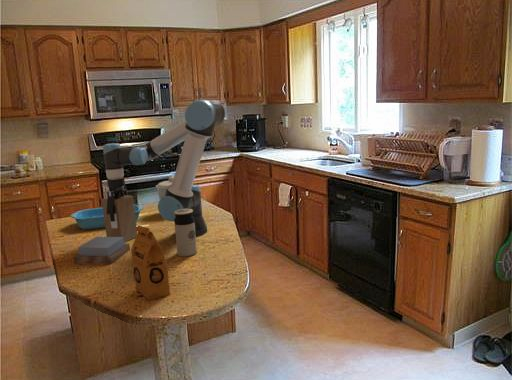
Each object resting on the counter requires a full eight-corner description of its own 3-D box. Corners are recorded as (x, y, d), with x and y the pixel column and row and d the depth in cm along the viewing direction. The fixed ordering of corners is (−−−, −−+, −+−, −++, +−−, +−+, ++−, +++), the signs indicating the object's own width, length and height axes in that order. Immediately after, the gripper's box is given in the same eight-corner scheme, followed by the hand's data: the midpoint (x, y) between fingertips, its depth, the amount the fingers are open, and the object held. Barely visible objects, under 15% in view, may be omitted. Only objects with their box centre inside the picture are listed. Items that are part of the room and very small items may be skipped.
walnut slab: (130, 251, 181) (129, 243, 180) (112, 265, 166) (110, 257, 165) (95, 251, 184) (94, 243, 183) (74, 265, 168) (73, 257, 168)
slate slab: (125, 244, 179) (124, 237, 178) (108, 256, 166) (107, 247, 166) (97, 244, 181) (96, 236, 181) (79, 255, 169) (78, 247, 168)
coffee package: (144, 304, 130) (136, 236, 126) (132, 290, 141) (124, 227, 136) (174, 294, 135) (167, 229, 131) (161, 282, 146) (154, 221, 141)
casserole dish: (143, 213, 242) (141, 201, 240) (146, 223, 221) (145, 210, 220) (74, 222, 230) (72, 210, 229) (70, 234, 210) (68, 220, 208)
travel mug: (173, 253, 173) (169, 211, 170) (190, 248, 178) (186, 207, 175) (183, 258, 167) (179, 214, 164) (200, 253, 172) (197, 210, 169)
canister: (181, 207, 252) (177, 172, 247) (197, 212, 238) (194, 175, 233) (153, 213, 240) (149, 177, 236) (168, 219, 227) (164, 180, 222)
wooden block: (123, 234, 203) (118, 194, 199) (138, 236, 198) (133, 195, 194) (106, 240, 195) (101, 199, 191) (122, 243, 190) (116, 200, 186)
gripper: (120, 173, 202) (125, 216, 207) (93, 183, 179) (100, 231, 184) (134, 172, 201) (139, 216, 206) (110, 183, 178) (116, 231, 182)
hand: (121, 223), depth 195 cm, fingers closed on wooden block, 12 cm apart
